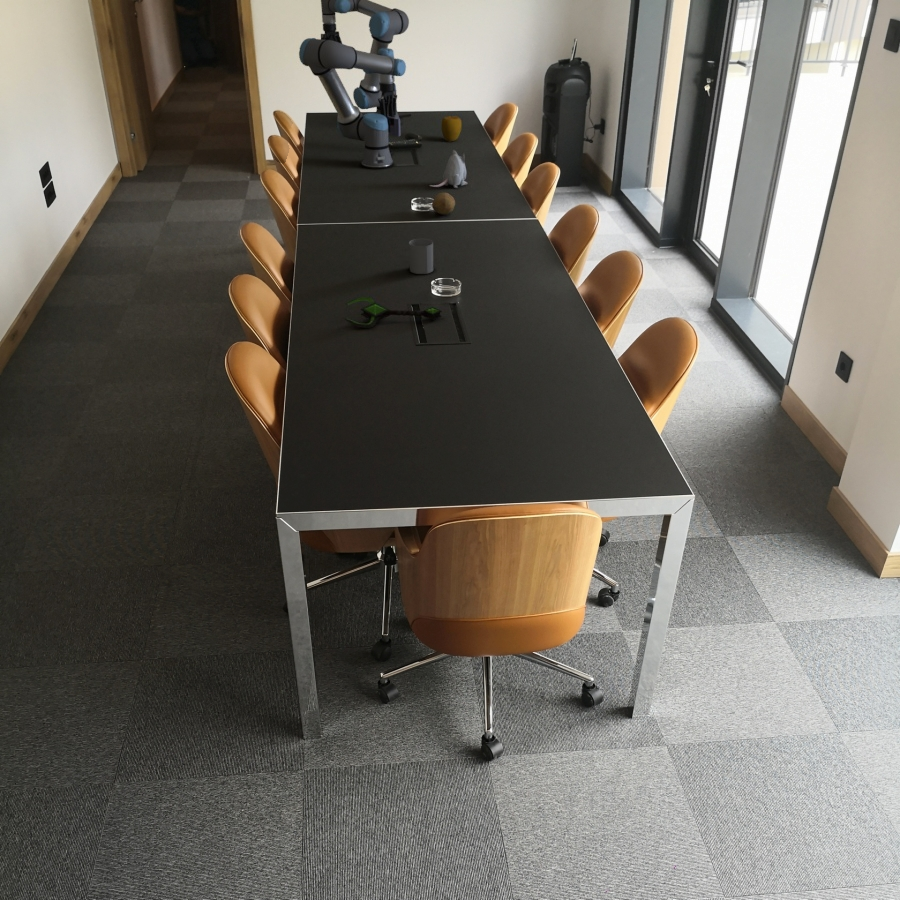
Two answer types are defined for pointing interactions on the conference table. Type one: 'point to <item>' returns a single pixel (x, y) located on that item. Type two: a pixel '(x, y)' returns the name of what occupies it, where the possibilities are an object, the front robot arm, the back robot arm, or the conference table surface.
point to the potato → (443, 203)
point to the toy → (454, 171)
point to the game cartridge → (394, 126)
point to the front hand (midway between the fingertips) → (389, 131)
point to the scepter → (388, 312)
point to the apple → (451, 127)
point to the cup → (421, 256)
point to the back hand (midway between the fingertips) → (332, 64)
